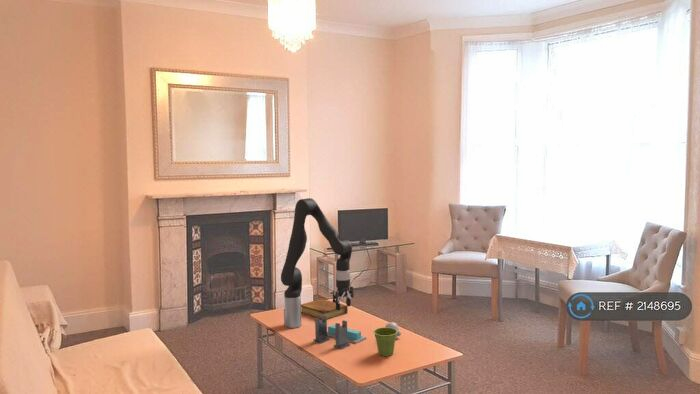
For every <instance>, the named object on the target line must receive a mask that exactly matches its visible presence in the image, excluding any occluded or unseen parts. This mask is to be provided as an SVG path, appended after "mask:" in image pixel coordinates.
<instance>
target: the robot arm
mask: <svg viewBox="0 0 700 394" xmlns="http://www.w3.org/2000/svg"><path fill="white" fill-rule="evenodd" d="M307 216H311V217H312V218H313V219H315V221H316V222H317V225H318V229H319V231H320V233H321V234H322V236H323V237H324V238H325V240H327V241H328V243H329V245H330V247H331V250H332V251H333V252H334V253H335V255H338V256H339V257H338V258H337V259H336V262H335V266H336V267H335V268H336V269H335V270H336V271H335V287H336V288H337V290H336V291H335V290H333V291H332V302H334V303H336V310H340V304H341V301H342V300H343V298H346V306H347V307H351V305H352V298H354V297H355V296H354V287H353V286H351V271H350V269H351V267H350V261H351V258H352V253H353V245H352V243H351V241H350V240H348V239H344V240H339V238H340V233H339V232H338V230H336V228H335V227H334V226H333V225H332V224H331V223H330V221H329V220H328V218H327V217H326V215H325V214H324V213H323V211H322V209H321V207H320V206H319V204H318V203H317V201H316V200H314V198H309V197H308V198H300V199H298V200H297V202H296V204H295V208H294V216H293V222H292V223H293V224H292V229H291V235H290V238H289V243H288V248H287V252H286V256H285V261H284V264H283V266H282V270H281V272H280V273H281V274H280V280H281V284H282V285H284V286H285V287H287V288H286V290H285V291H284V293H283V295H284V297H283V298H284V309H283V325H284V326H285V327H286V328H289V329H296V328H300V327H301V326H302V324H303V323H302V313H301V312H302V310H301V304H302V299H301V297H302V295H301V294H302V290H303V275H302V271H301V270H300V268H298V267H296V266H297V263H298V261H299V260H300V259H301V257H302V255H303V253H304V252H305V250H306V245H307V241H308V235H307V231H306V228H305V222H306V218H307Z"/></svg>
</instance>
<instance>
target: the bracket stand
mask: <svg viewBox="0 0 700 394" xmlns="http://www.w3.org/2000/svg"><path fill="white" fill-rule="evenodd" d="M327 321H328V320H327V316H322V320H321V319H318V318H315V317H314V325H315V326H314V328H315V335H314V336H315V339H313V343H318V344H319V345H320V344H323V343H325V342H327V341H330V337H328V336H327V332H328V323H327ZM341 322H342V323H339V322H335V324H334V325H335V331H336V338H335V344H333V348H335V349H338V350H343V349H345V348H347V347H350V346H351V342H347V329H348V321H347V320H343V319H342V320H341ZM341 324H342V325H341Z"/></svg>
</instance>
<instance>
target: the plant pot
mask: <svg viewBox="0 0 700 394" xmlns="http://www.w3.org/2000/svg"><path fill="white" fill-rule="evenodd" d="M397 332H398V331H397V330H396V329H394V328H389V327H385V326H383V327H377V328H375V329H373V330H372V333H373V334H374V337H375V341H376V345H377V353H378V354H379V355H380V356H383V357H390V356H392V355H393V354H394V352H395V345H396V344H395V343H396V340H395V338H396V334H397Z"/></svg>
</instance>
